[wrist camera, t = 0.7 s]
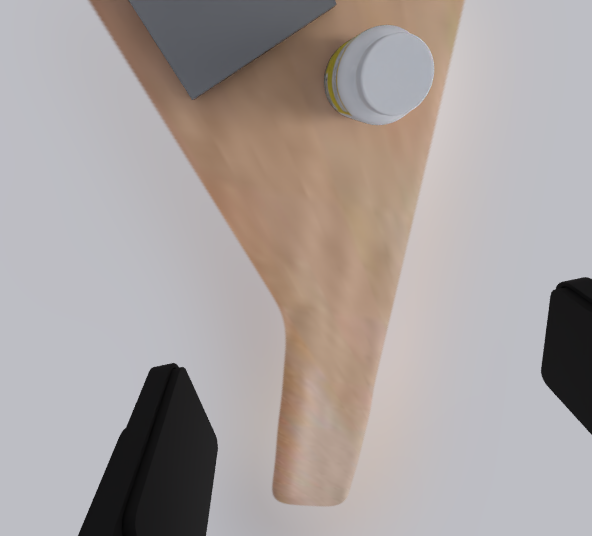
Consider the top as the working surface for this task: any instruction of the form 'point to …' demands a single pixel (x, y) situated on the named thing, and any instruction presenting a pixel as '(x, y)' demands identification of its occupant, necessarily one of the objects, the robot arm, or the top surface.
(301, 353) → the top surface
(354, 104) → the supplement bottle
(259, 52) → the collar stand
